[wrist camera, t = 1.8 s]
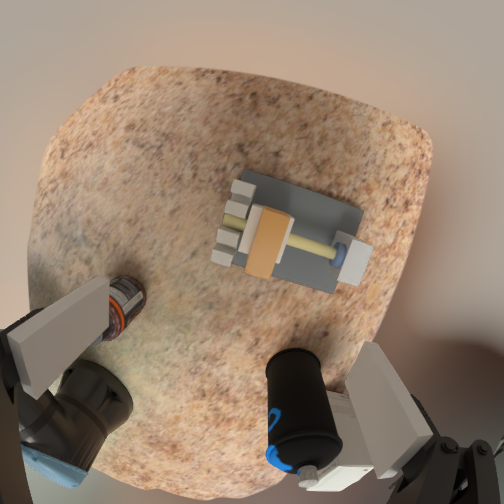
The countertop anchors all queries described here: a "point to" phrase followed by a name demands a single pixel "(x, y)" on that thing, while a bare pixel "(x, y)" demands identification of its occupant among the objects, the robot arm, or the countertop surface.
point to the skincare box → (345, 448)
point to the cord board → (297, 233)
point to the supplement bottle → (122, 306)
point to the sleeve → (265, 239)
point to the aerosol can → (299, 416)
